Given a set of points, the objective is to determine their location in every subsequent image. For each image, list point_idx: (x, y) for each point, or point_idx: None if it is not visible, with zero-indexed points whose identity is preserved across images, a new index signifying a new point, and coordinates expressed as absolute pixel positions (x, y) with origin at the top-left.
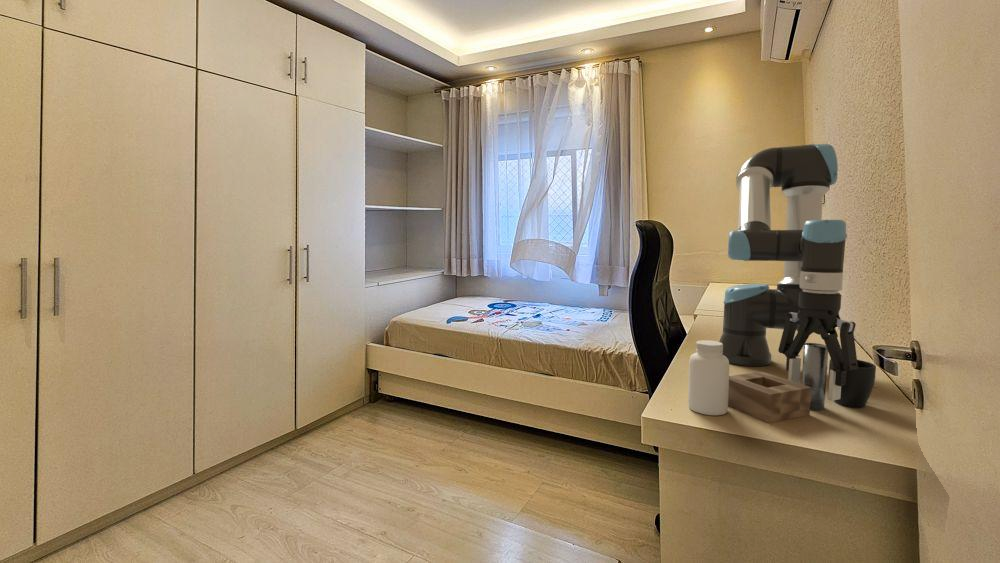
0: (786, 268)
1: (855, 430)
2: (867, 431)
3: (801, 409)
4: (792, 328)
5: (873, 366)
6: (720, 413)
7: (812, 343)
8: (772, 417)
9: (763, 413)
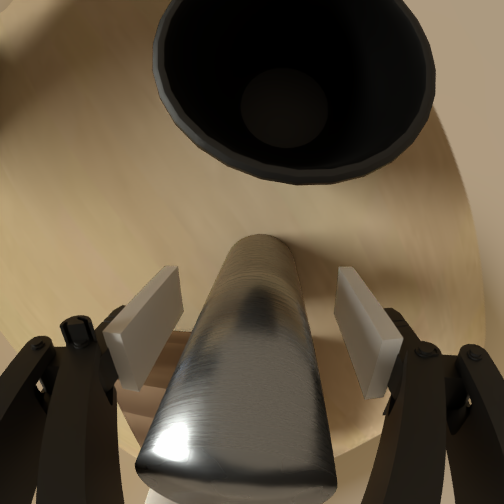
0: None
1: (411, 318)
2: (427, 297)
3: None
4: (5, 500)
5: (405, 16)
6: None
7: (159, 469)
8: None
9: None
